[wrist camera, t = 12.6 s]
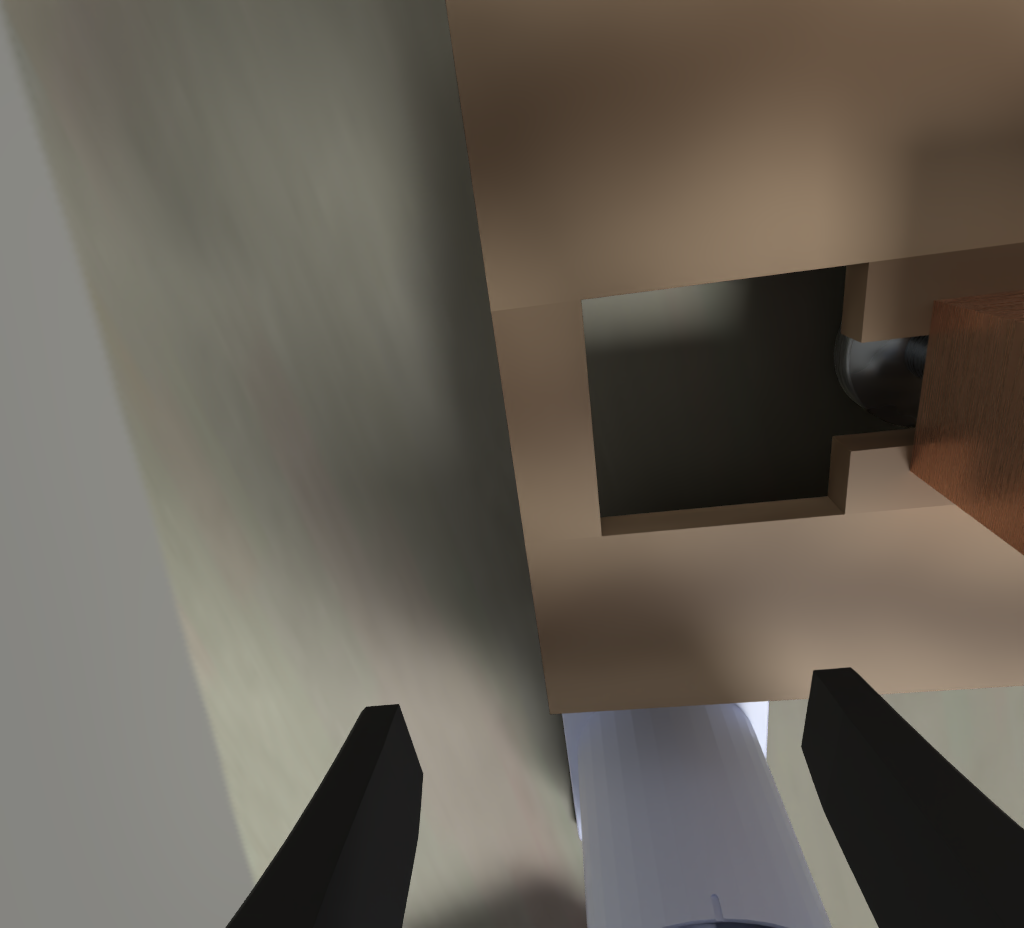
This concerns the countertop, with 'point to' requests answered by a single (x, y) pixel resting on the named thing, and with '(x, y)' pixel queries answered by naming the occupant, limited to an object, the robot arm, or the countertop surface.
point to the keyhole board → (730, 256)
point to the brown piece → (955, 402)
